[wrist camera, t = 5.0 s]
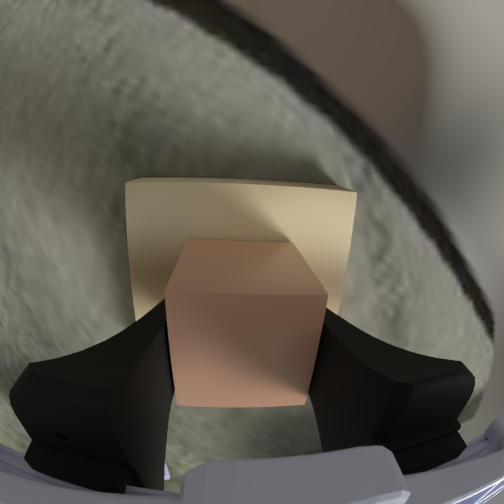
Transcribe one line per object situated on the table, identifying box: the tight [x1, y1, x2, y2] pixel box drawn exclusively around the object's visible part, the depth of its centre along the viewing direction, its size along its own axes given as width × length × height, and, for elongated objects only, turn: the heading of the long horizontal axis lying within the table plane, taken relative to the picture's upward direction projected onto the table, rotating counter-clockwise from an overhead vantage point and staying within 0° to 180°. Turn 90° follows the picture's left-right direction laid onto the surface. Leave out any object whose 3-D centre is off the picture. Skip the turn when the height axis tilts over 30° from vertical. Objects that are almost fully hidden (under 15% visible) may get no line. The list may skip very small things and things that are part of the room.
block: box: [165, 239, 328, 407], centre depth 11 cm, size 4×4×5 cm
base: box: [125, 177, 357, 321], centre depth 15 cm, size 10×10×2 cm
